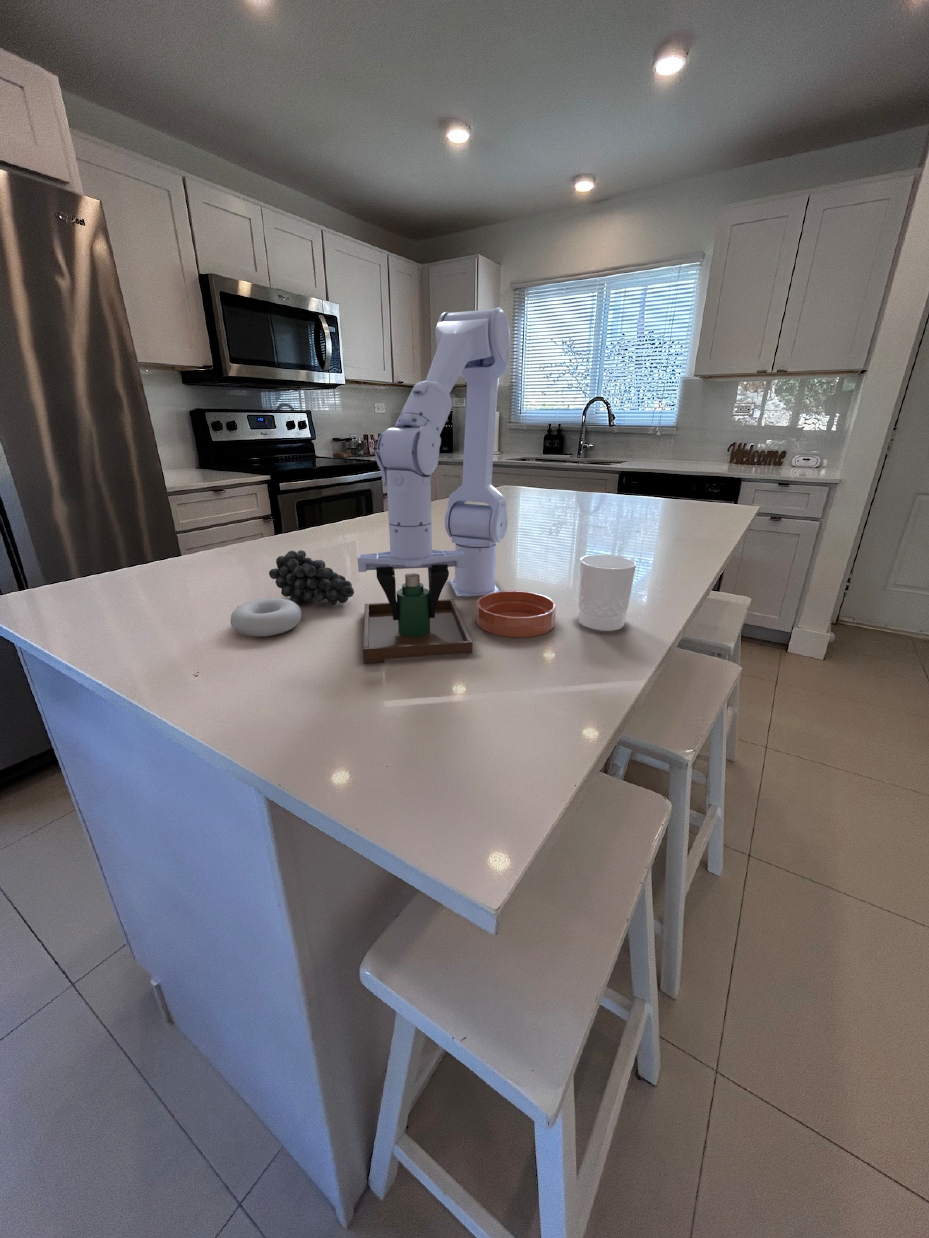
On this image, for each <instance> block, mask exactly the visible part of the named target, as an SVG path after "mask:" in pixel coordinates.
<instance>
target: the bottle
mask: <svg viewBox="0 0 929 1238" xmlns="http://www.w3.org/2000/svg"><path fill="white" fill-rule="evenodd" d="M420 577H421V576H420V574H419V573H416V572H409V573H406V574H404V581H405V582H404V583H402V584H401V588H399V589H398V590H397V591H396V602H397V610H398V632H399V633H400V634H401V635H403V636H407V637H419V636H424V635H426V634H428V633H429V632H430V604H429V588H428V589H427V588H425V587H424V583H422V582H420V580H421V579H420Z"/></svg>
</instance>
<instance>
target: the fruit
mask: <svg viewBox="0 0 929 1238" xmlns="http://www.w3.org/2000/svg"><path fill="white" fill-rule="evenodd" d="M275 563H276V567H275V568H271V569H270V570H269V571H268V575H269V577H270V578H271V579H272V580H275V581H274V583H275V585H276V587H278V588H279V589H281V590H280V591H281V593H280V594H281V595H282V596H283V597H285V598H289V597H290V599H289V600H290V601H293V602H294V603H296V604H297V605H298V604H301V603H302V601H304V602H305V603H312V602H313V600H316V601H317V602H323V601H325V600H326V602H327V603H328V605H330V606H336V605H337V604H338V603H339V604H345V603H347V602H348V601H349V598H351V597H353V596H354V595H355V590H354V589H355V588H353V584H352V582H351V581H349V580H347V579H346V577H345V576H343V575H341V574H339V573H338V572H335V571H334V570H333V569H332V568H331V567H326V563H325V560H322V559H315V560H312V558H311V557H308V556H307V553H306V551H304V550H298V551H296V550H290V551H288V552H287V553H286V554H285V555H279V556H278V557H277V558H276V559H275Z"/></svg>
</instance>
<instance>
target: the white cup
mask: <svg viewBox="0 0 929 1238" xmlns="http://www.w3.org/2000/svg"><path fill="white" fill-rule="evenodd" d="M579 562H580V563H579V581H578V582H579V583H578V610H579V611H578V623H579V624H580V625H582V626H583V627H585V628H588V629H591V630H597V631H601V632H602V631H617V630H620V629H622V628H624V626H625V622H626V615H627V611H628V609H629V606H630V605H629V604H630V599H631V594H632V589H633V584H634V578H635V573H636V567H637V562H636V561H635V560H633V559H632V558H631V559H630V558H628V557H624V556H619V555H612V554H590V555H585V556H583V557H581V558H580V560H579Z"/></svg>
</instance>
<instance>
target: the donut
mask: <svg viewBox="0 0 929 1238" xmlns="http://www.w3.org/2000/svg"><path fill="white" fill-rule="evenodd" d="M301 620H302V610H301V607H300V606H299V605H298V604H296V603H294V602H293V601H291V600H290V599H287V598H280V597H267V598H259V599H254V600H250V601H248V602H245V603H243V604H241V605H238V606H237V607H236V608H235V609H234V610H233V611H232V613H231V615H230V625H231V627H232V628H233V629H234V630H235V631H236V632H237V633H239V634H241V635H243V636H247V637H255V638H259V637H260V638H261V637H263V638H265V637H271V636H276V635H280V634H283V633H286V632H288V631H290V630H292V629H294V628H296V627H297V625H298V624H299V623H300V621H301Z"/></svg>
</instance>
